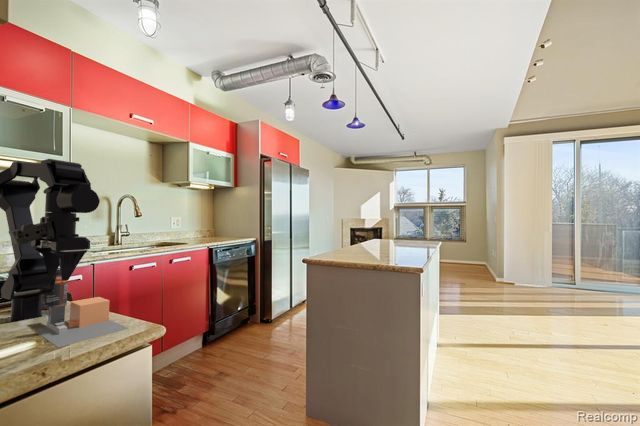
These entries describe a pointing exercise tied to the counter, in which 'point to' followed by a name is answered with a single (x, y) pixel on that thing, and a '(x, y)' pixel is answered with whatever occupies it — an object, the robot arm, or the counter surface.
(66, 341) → the latch plate
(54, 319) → the latch bolt
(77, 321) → the cover
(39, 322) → the counter surface
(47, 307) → the supplement bottle
